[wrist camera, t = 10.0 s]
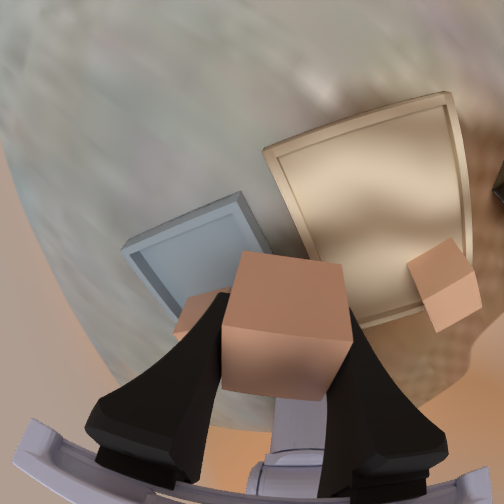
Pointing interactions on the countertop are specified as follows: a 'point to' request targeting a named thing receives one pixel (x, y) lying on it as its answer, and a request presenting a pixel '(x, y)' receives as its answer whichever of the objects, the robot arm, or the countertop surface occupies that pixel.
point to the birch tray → (378, 197)
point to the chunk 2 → (285, 327)
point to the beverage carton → (499, 184)
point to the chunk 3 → (446, 284)
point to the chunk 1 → (195, 311)
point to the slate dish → (195, 251)
